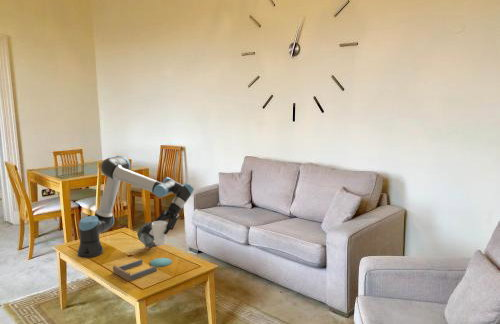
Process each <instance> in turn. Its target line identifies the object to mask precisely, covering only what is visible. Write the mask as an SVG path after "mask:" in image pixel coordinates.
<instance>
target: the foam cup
mask: <svg viewBox="0 0 500 324" xmlns="http://www.w3.org/2000/svg"><path fill="white" fill-rule="evenodd" d="M154 221H155V220H154ZM151 222H152V230H153V235H154V241H153V242H155V245H157V246H159V247H160V246H164V245H166V243H167V237H168V236H167V235H168V233H167V234H166V235H165V237H164V238H163V240H162V239H161V238H159V236H160V235H161V233H162V232H163V230H164V229H165V228H166V227H167V224H168V221H166V220H165V221H155V222H153V221H151Z"/></svg>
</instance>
